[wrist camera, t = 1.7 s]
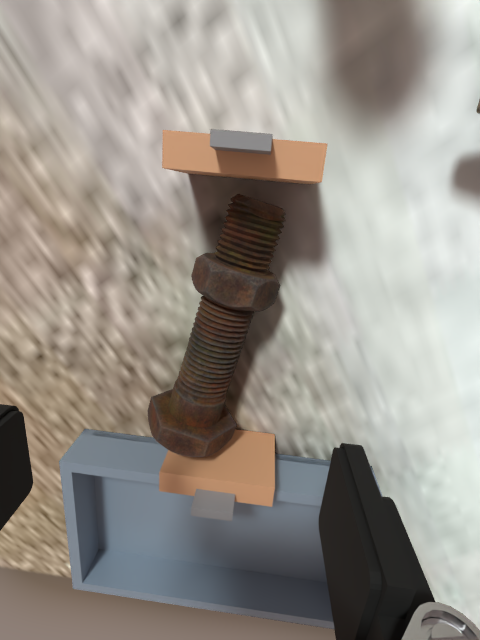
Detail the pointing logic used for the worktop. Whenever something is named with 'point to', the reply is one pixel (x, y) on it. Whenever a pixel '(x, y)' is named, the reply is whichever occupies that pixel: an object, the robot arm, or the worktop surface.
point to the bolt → (219, 330)
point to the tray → (193, 535)
